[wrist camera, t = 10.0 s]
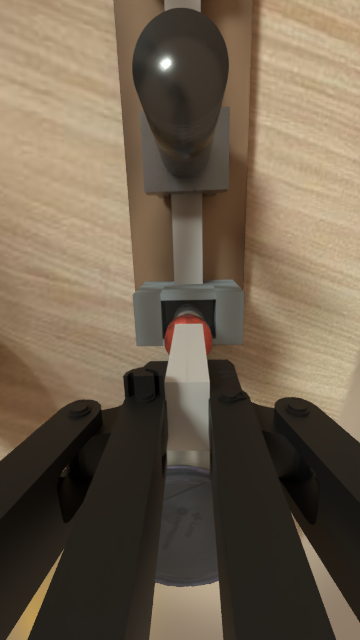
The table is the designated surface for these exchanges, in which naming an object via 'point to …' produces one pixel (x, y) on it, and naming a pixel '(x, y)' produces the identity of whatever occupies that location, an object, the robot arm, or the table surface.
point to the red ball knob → (188, 316)
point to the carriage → (183, 104)
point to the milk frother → (187, 522)
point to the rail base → (213, 206)
